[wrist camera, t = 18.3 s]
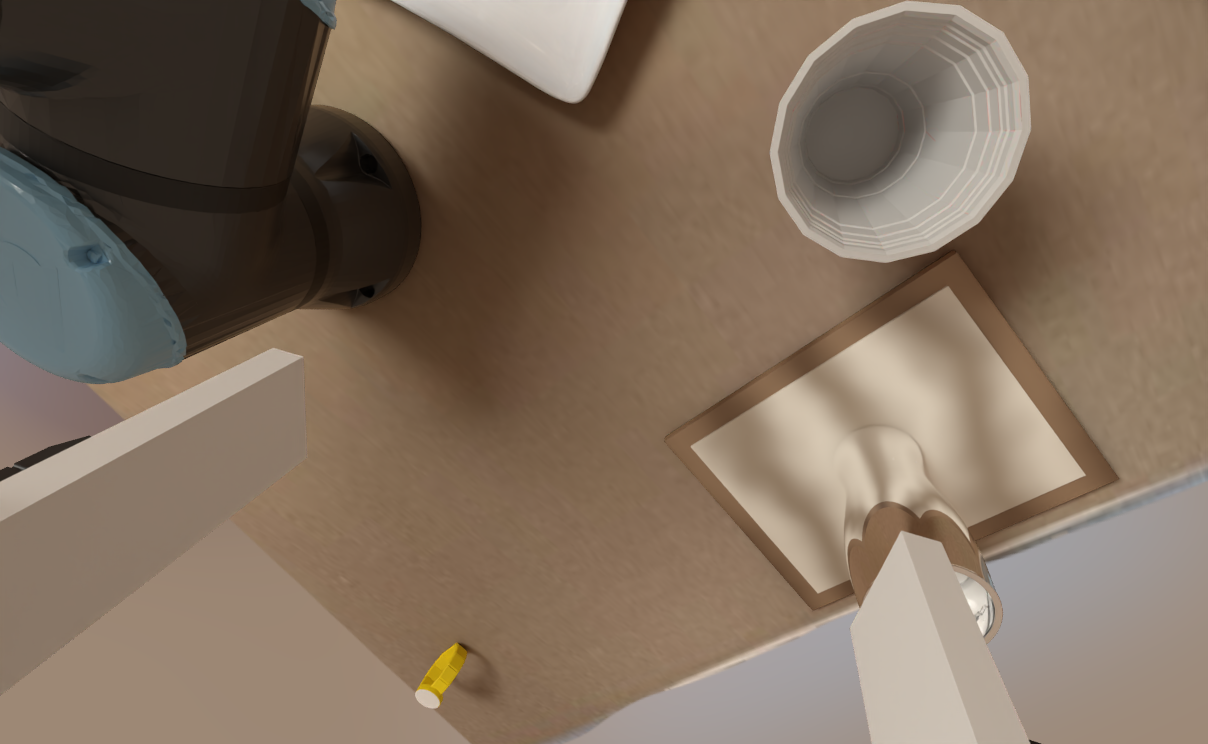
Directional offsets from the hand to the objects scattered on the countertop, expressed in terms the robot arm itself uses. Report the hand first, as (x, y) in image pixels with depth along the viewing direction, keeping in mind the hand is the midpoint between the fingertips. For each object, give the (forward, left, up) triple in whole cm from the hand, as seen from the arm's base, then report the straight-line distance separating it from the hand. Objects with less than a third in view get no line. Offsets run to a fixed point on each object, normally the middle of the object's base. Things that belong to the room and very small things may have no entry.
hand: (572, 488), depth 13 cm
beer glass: (+17, -13, -31) cm, 38 cm away
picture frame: (+17, -13, -32) cm, 38 cm away
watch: (-14, -50, -32) cm, 61 cm away
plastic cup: (+8, +8, -32) cm, 34 cm away
